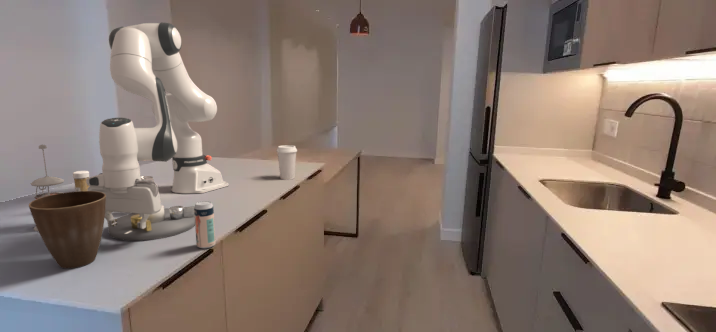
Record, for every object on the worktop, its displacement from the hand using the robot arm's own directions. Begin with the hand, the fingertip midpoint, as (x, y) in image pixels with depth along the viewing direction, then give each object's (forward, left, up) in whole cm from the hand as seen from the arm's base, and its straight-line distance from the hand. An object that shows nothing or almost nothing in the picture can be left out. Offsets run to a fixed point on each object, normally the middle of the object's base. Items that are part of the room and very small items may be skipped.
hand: (127, 226), depth 114 cm
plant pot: (+14, +7, -4) cm, 16 cm away
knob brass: (-4, 0, -1) cm, 4 cm away
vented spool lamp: (+10, -29, -4) cm, 31 cm away
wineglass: (-15, -21, -4) cm, 26 cm away
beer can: (-12, +21, -4) cm, 24 cm away
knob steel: (-17, -1, -1) cm, 17 cm away
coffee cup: (-80, -26, -4) cm, 84 cm away
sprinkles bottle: (-2, -39, -4) cm, 40 cm away
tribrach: (-10, -5, -4) cm, 12 cm away
